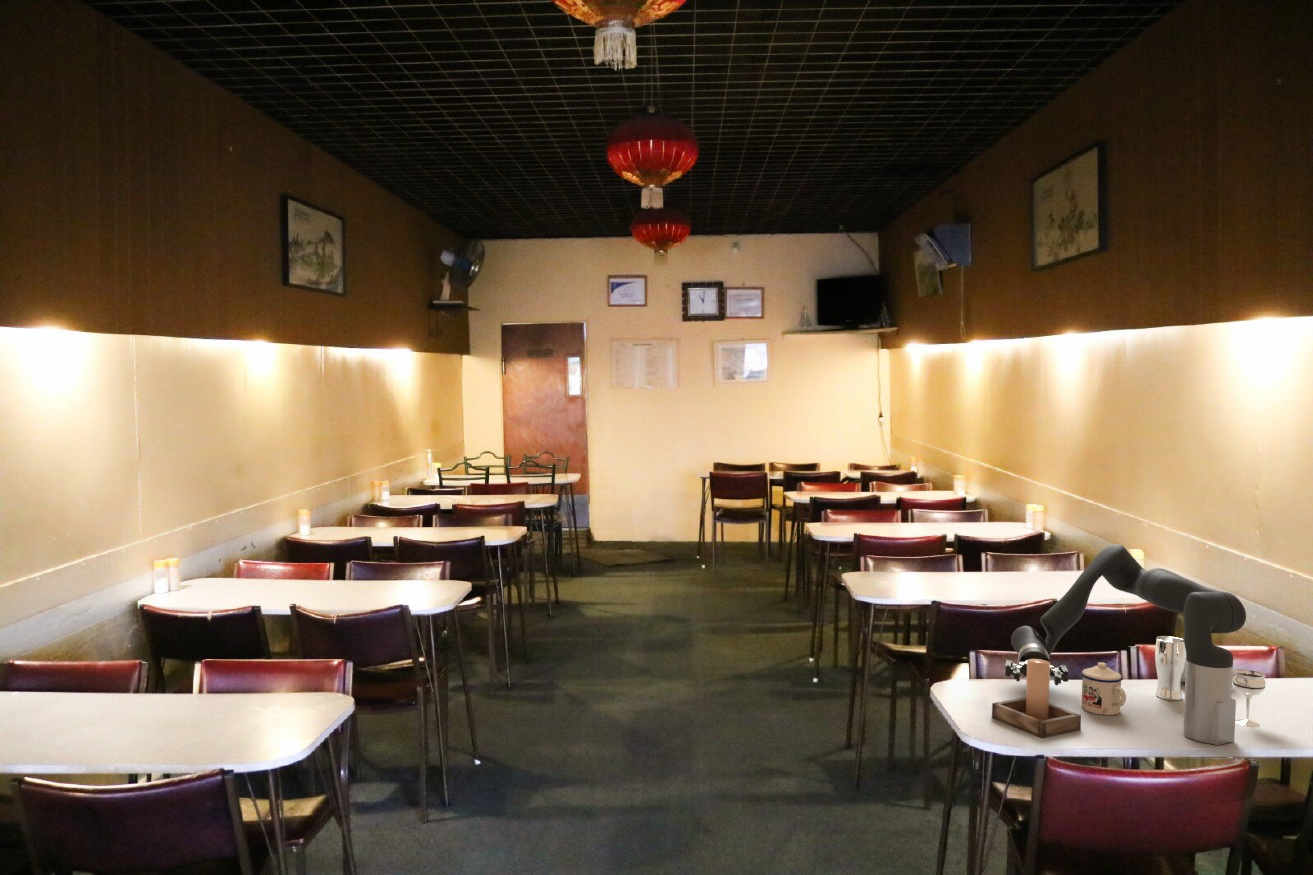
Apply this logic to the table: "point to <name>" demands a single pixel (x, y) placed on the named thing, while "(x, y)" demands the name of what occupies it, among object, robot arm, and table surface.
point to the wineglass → (1248, 689)
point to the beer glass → (1169, 666)
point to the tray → (1054, 725)
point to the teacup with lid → (1102, 690)
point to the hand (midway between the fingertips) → (1037, 679)
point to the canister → (1037, 688)
